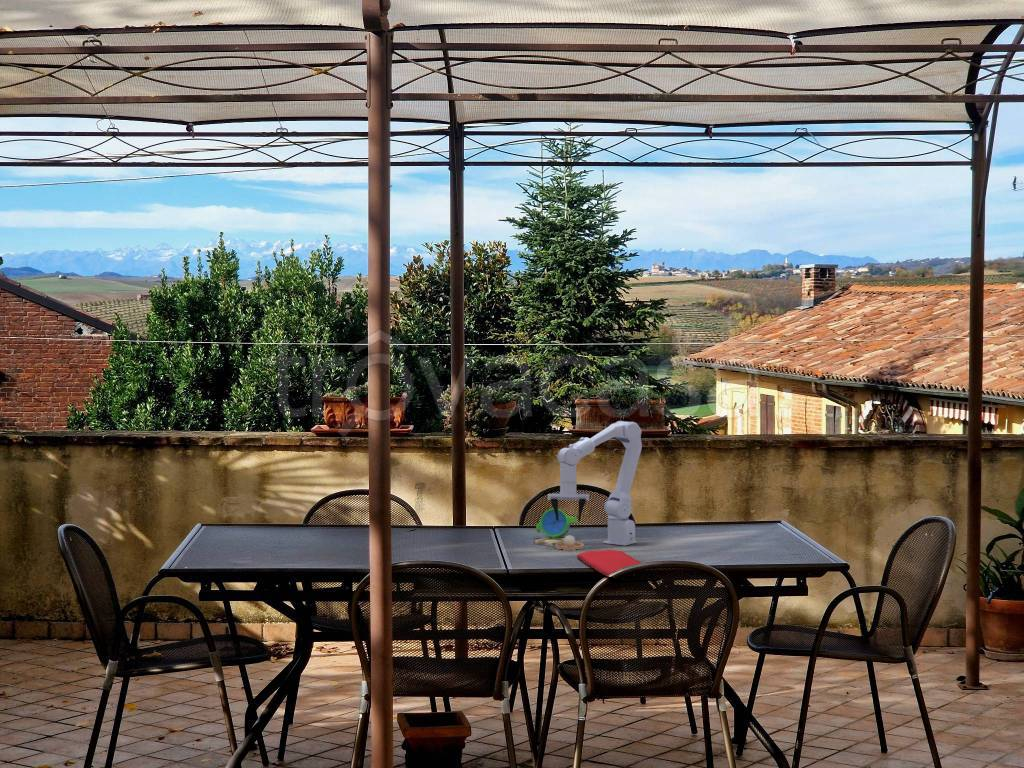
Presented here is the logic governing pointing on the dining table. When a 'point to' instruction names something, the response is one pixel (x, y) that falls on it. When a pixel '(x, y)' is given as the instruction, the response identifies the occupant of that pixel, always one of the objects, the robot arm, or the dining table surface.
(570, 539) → the ball
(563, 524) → the snack cup
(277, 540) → the dining table surface
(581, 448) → the robot arm
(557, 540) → the tray
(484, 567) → the dining table surface
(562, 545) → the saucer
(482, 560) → the dining table surface
